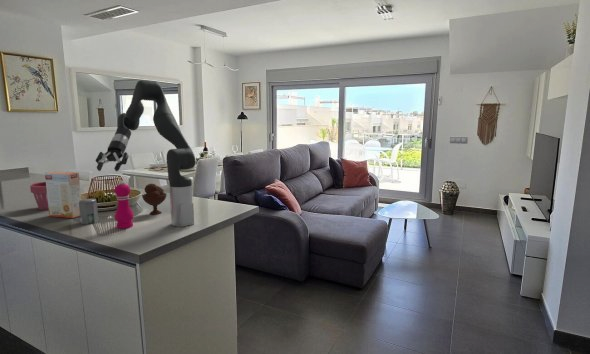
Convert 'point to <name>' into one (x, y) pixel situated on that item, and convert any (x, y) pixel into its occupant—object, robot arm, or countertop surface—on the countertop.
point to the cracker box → (63, 194)
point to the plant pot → (40, 195)
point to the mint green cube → (90, 218)
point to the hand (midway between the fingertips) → (107, 170)
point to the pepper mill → (123, 206)
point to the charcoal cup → (88, 210)
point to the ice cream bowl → (154, 197)
